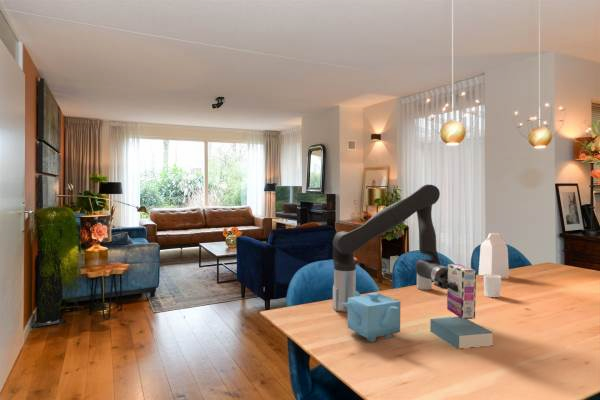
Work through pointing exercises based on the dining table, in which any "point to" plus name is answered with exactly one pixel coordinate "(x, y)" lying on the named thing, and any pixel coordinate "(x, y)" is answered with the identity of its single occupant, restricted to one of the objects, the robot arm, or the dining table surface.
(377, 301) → the teakettle
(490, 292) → the white cup
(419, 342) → the dining table surface
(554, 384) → the dining table surface
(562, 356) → the dining table surface
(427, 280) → the can
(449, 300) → the candy bar box
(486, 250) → the milk
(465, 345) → the teal rectangular box
